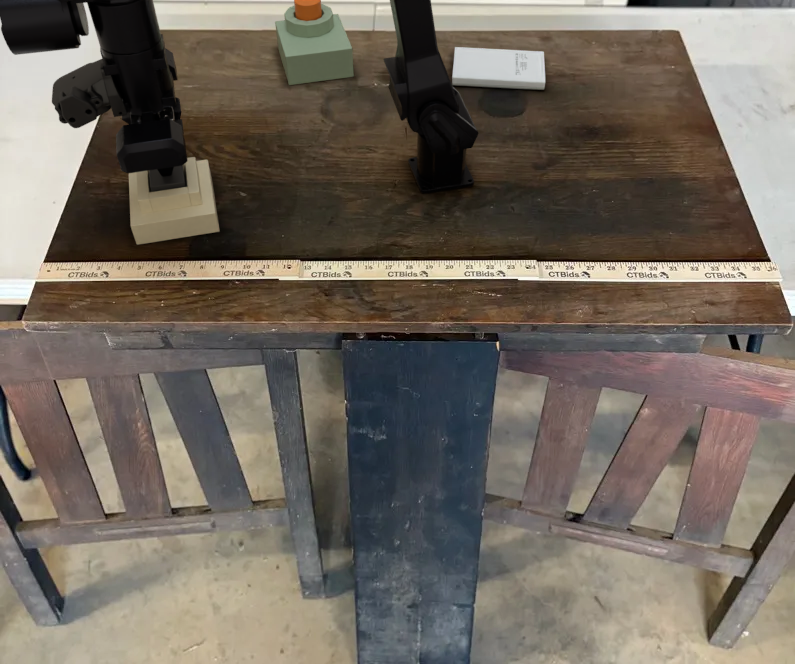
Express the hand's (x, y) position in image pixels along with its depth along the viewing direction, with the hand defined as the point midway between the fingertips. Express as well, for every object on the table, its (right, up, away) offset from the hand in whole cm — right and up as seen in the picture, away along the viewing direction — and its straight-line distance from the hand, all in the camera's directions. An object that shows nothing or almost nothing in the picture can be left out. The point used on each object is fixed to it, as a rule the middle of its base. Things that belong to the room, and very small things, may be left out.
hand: (166, 174), depth 87 cm
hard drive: (+39, +18, +23) cm, 49 cm away
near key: (0, -1, +2) cm, 2 cm away
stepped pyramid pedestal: (0, -3, +4) cm, 5 cm away
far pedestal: (+14, +21, +25) cm, 35 cm away
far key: (+13, +26, +23) cm, 37 cm away
